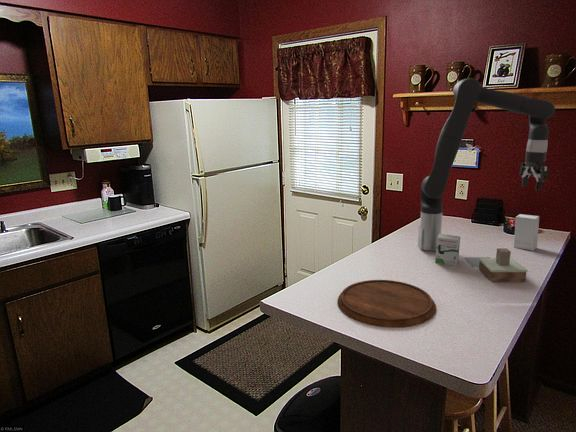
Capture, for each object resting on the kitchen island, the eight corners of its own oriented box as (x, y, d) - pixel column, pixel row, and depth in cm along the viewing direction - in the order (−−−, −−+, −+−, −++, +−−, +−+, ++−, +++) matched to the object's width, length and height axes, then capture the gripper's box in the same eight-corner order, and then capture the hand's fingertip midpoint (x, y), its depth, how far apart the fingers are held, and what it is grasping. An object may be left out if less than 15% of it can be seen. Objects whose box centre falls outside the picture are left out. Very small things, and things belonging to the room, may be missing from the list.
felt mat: (472, 268, 166) (472, 266, 166) (463, 258, 177) (463, 257, 177) (500, 268, 165) (500, 266, 165) (489, 258, 176) (489, 257, 176)
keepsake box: (490, 283, 152) (491, 271, 150) (478, 271, 163) (479, 260, 162) (525, 283, 151) (526, 271, 149) (510, 271, 162) (511, 260, 161)
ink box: (434, 264, 172) (436, 236, 169) (436, 260, 176) (438, 233, 173) (457, 267, 168) (459, 239, 165) (458, 263, 172) (460, 235, 169)
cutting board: (366, 278, 161) (366, 272, 160) (450, 299, 141) (450, 292, 140) (318, 309, 137) (318, 302, 136) (411, 340, 117) (411, 332, 117)
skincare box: (537, 248, 187) (541, 216, 183) (532, 251, 183) (536, 218, 179) (516, 244, 193) (520, 213, 189) (512, 247, 189) (515, 215, 185)
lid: (491, 272, 150) (493, 255, 149) (478, 260, 162) (480, 244, 161) (527, 272, 149) (529, 255, 148) (511, 260, 161) (513, 244, 160)
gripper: (517, 149, 181) (512, 185, 185) (539, 152, 167) (534, 192, 171) (533, 148, 182) (528, 185, 186) (557, 152, 168) (551, 191, 172)
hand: (531, 188), depth 179 cm, fingers open, 8 cm apart
